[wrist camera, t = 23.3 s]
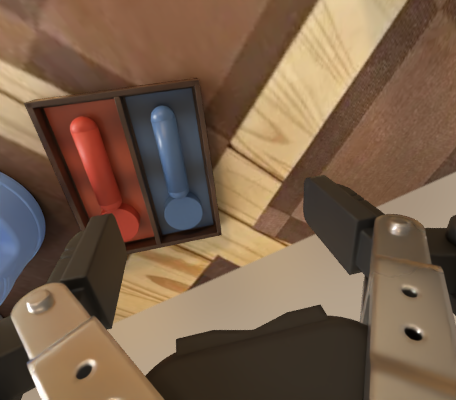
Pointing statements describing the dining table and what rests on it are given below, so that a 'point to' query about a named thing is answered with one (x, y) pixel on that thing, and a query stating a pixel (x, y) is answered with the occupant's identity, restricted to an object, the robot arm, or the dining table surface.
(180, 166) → the blue round-ended rod
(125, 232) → the red disc-ended rod
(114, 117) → the sorting tray
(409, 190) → the dining table surface
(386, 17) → the dining table surface
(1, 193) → the water jug
